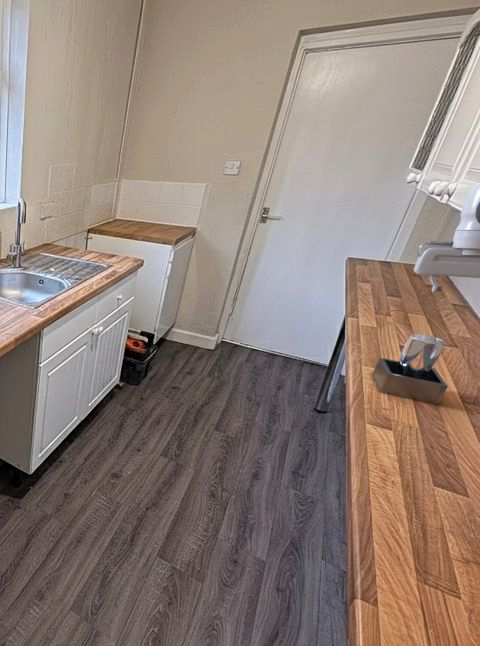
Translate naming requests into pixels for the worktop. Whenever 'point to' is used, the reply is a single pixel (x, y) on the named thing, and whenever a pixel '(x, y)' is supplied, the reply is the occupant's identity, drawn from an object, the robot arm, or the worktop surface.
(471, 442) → the worktop surface
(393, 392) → the dark gray square tray
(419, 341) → the metal tumbler
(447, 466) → the worktop surface
